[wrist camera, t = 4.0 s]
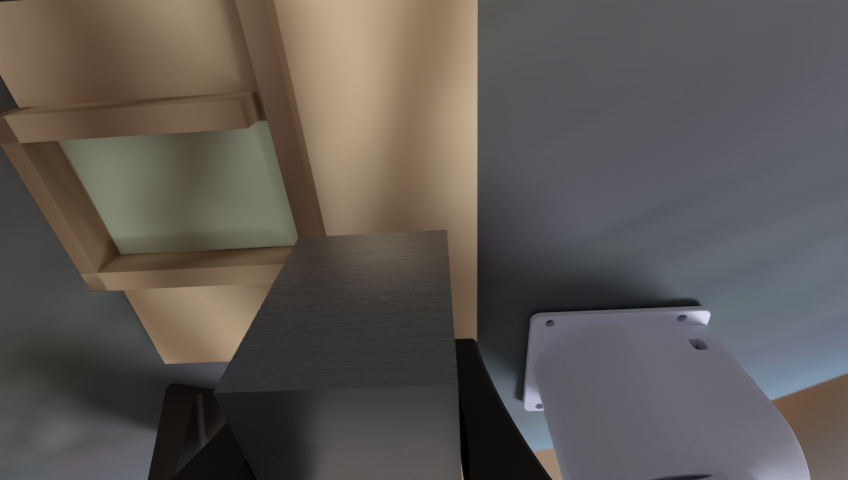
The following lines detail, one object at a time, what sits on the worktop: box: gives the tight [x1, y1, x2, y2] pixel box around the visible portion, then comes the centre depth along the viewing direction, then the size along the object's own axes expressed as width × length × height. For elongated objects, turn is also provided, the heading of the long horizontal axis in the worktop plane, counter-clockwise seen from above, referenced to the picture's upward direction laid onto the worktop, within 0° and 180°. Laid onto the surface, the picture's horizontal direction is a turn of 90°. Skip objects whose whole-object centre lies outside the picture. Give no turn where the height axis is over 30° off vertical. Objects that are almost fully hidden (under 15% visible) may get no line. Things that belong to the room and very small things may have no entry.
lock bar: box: [213, 230, 461, 480], centre depth 11 cm, size 8×4×5 cm, turn 4°
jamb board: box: [0, 0, 477, 364], centre depth 18 cm, size 18×18×2 cm
